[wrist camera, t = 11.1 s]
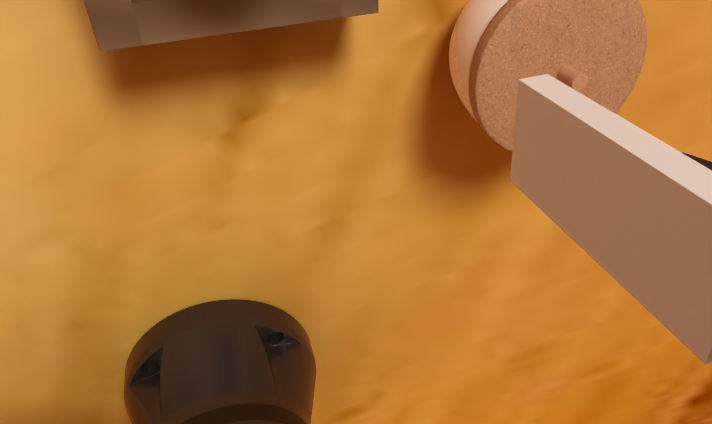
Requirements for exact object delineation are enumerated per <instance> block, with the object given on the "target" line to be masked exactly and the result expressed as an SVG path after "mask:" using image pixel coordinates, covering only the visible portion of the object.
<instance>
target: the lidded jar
mask: <svg viewBox="0 0 712 424" xmlns="http://www.w3.org/2000/svg"><path fill="white" fill-rule="evenodd" d="M646 41H647V29H646V22H645V16H644V13H643V10H642V7H641V4H640V3H639V1H638V0H469V1H468V2H467V4H466V5H465V6H464V8H463V10H462V12H461V13H460V15H459V17H458V19H457V21H456V24H455V26H454V29H453V32H452V36H451V40H450V47H449V66H450V73H451V78H452V81H453V84H454V86H455V89H456V91H457V94H458V96H459V98H460V100H461V101H462V103H463V104H464V106H465V108H466V109H467V111H468V112H469V114H470V115H471V116H472V117H473V118H474V119H475V120H476V121H477V122H478V124H479V125H480V127H481V129H482V130H483V131H484V132H485V133H486V134H487V135H488V136H489V137H490V138H491V139H492V140H493V141H494V142H495V143H496V144H498V145H499V146H501V147H502V148H503V149H506V150H508V151H510V152H512V151H513V139H514V127H515V115H516V104H517V92H518V80H519V79H523V78H529V77H534V76H539V75H544V74H549V75H550V76H552V77H554V78H555V79H557V80H559V81H560V82H562V83H564V84H566V85H567V86H569V87H571V88H572V89H574V90H576V91H577V92H579V93H581V94H583V95H584V96H586V97H588V98H589V99H591V100H593V101H594V102H596V103H598V104H600V105H601V106H603V107H605V108H606V109H608V110H610V111H611V112H613V113H616V112H617V111H618V110H619V109H620V107H621V106H622V104H623V103H624V102H625V100H626V99H627V97H628V96H629V94H630V92H631V91H632V89H633V87H634V85H635V83H636V81H637V78H638V76H639V73H640V71H641V67H642V64H643V61H644V57H645V51H646Z"/></svg>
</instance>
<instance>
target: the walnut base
mask: <svg viewBox="0 0 712 424" xmlns="http://www.w3.org/2000/svg"><path fill="white" fill-rule="evenodd" d="M84 2H85V5H86V8H87V11H88V15H89V18H90V21H91V24H92V28H93V31H94V34H95V37H96V40H97V44H98V47H99V50H100V51H108V50H115V49H122V48H129V47H136V46H143V45H150V44H158V43H165V42H172V41H179V40H186V39H193V38H200V37H208V36H215V35H222V34H229V33H236V32H243V31H251V30H258V29H265V28H272V27H279V26H286V25H293V24H301V23H308V22H315V21H322V20H329V19H336V18H343V17H351V16H358V15H365V14H372V13H379V12H378V0H84Z"/></svg>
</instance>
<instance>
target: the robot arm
mask: <svg viewBox="0 0 712 424" xmlns="http://www.w3.org/2000/svg"><path fill="white" fill-rule="evenodd" d="M510 181H511V182H512V183H513V184H514V185H515V186H516V187H518V188H519V189H520V190H521V191H522V192H523V193H524V194H525V195H526V196H527V197H528V198H529V199H530V200H531V201H532V202H533V203H535V204H536V205H537V206H538V207H539V208H540V209H541V210H542V211H543V212H544V213H545V214H546V215H547V216H548V217H549V218H550V219H552V220H553V221H554V222H555V223H556V224H557V225H558V226H559V227H560V228H561V229H562V230H563V231H564V232H565V233H566V234H567V235H569V236H570V237H571V238H572V239H573V240H574V241H575V242H576V243H577V244H578V245H579V246H580V247H581V248H582V249H583V250H584V251H586V252H587V253H588V254H589V255H590V256H591V257H592V258H593V259H594V260H595V261H596V262H597V263H598V264H599V265H600V266H601V267H603V268H604V269H605V270H606V271H607V272H608V273H609V274H610V275H611V276H612V277H613V278H614V279H615V280H616V281H617V282H618V283H620V284H621V285H622V286H623V287H624V288H625V289H626V290H627V291H628V292H629V293H630V294H631V295H632V296H633V297H634V298H635V299H637V300H638V301H639V302H640V303H641V304H642V305H643V306H644V307H645V308H646V309H647V310H648V311H649V312H650V313H651V314H652V315H654V316H655V317H656V318H657V319H658V320H659V321H660V322H661V323H662V324H663V325H664V326H665V327H666V328H667V329H668V330H669V331H671V332H672V333H673V334H674V335H675V336H676V337H677V338H678V339H679V340H680V341H681V342H682V343H683V344H684V345H685V346H686V347H688V348H689V349H690V350H691V351H692V352H693V353H694V354H695V355H696V356H697V357H698V358H699V359H700V360H701V361H702V362H703V363H705V364H707V363H710V362H712V162H710V161H707V160H704V159H701V158H698V157H695V156H692V155H689V154H686V153H683V152H682V153H681V152H679V151H678V150H676V149H674V148H673V147H671V146H669V145H667V144H666V143H664V142H662V141H661V140H659V139H657V138H656V137H654V136H652V135H650V134H649V133H647V132H645V131H644V130H642V129H640V128H639V127H637V126H635V125H634V124H632V123H630V122H628V121H627V120H625V119H623V118H622V117H620V116H618V115H617V114H615V113H613V112H611V111H610V110H608V109H606V108H605V107H603V106H601V105H600V104H598V103H596V102H594V101H593V100H591V99H589V98H588V97H586V96H584V95H583V94H581V93H579V92H577V91H576V90H574V89H572V88H571V87H569V86H567V85H566V84H564V83H562V82H560V81H559V80H557V79H555V78H554V77H552V76H550V75H549V74H544V75H539V76H534V77H529V78H523V79H519V80H518V92H517V104H516V115H515V127H514V139H513V151H512V163H511V175H510ZM315 380H316V364H315V358H314V355H313V351H312V348H311V344H310V341H309V338H308V336H307V333H306V332H305V330H304V329H303V327H302V326H301V325H300V324H299V322H298V321H297V320H295V319H294V318H293V317H292V316H291V315H289V314H288V313H286V312H284V311H282V310H281V309H278V308H276V307H274V306H271V305H268V304H265V303H261V302H256V301H249V300H219V301H212V302H207V303H202V304H198V305H195V306H192V307H189V308H186V309H183V310H181V311H179V312H176V313H174V314H172V315H170V316H168V317H167V318H165V319H163V320H162V321H160V322H159V323H157V324H156V325H155V326H153V327H152V328H151V329H150V330H149V331H147V332H146V333H145V334H144V335H143V336H142V337H141V339H140V340H139V341H138V342H137V344H136V345H135V347H134V348H133V350H132V352H131V354H130V356H129V358H128V361H127V364H126V370H125V385H124V398H125V405H126V409H127V412H128V415H129V417H130V420H131V422H132V424H311V415H312V406H313V397H314V389H315Z"/></svg>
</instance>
